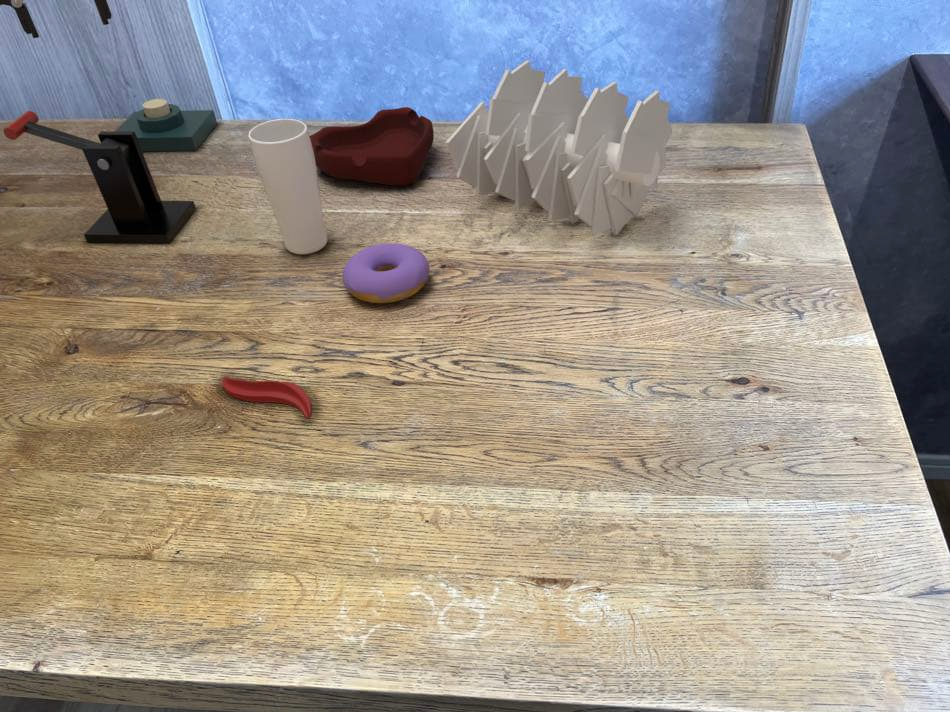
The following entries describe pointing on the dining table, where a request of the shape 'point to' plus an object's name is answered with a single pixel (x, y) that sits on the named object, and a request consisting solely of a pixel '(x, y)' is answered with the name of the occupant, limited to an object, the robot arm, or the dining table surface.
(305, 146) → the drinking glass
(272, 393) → the cayenne pepper
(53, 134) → the lever
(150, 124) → the control block
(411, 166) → the ashtray
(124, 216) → the bracket
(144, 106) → the button
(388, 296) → the donut
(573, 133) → the spiral staircase
